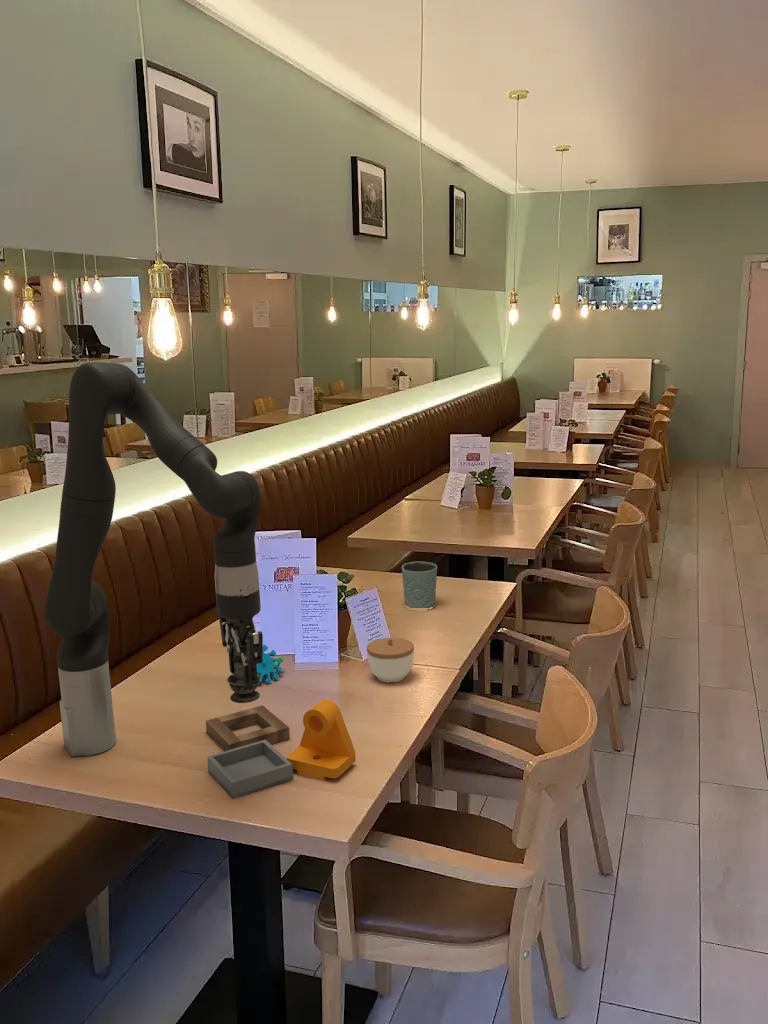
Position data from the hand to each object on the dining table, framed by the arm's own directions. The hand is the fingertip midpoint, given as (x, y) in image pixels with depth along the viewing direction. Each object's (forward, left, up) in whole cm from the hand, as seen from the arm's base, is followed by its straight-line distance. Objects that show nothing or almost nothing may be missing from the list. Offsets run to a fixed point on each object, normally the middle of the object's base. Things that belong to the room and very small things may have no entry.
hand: (243, 677), depth 158 cm
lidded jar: (+45, +23, -19) cm, 54 cm away
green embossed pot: (+79, +61, -19) cm, 102 cm away
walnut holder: (+6, +15, -19) cm, 25 cm away
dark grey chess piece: (0, 0, -4) cm, 4 cm away
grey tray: (0, 0, -19) cm, 19 cm away
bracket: (+12, -5, -19) cm, 23 cm away
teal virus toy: (+21, +40, -19) cm, 49 cm away
